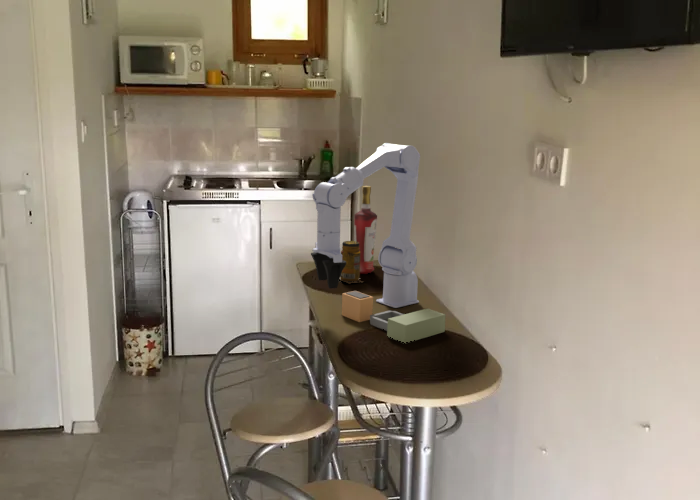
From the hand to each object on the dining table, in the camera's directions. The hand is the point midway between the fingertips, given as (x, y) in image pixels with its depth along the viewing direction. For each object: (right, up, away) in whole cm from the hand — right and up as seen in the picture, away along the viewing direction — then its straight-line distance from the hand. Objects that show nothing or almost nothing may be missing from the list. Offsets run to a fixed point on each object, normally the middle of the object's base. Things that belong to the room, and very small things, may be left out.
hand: (327, 283), depth 179 cm
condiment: (+6, -1, +41) cm, 41 cm away
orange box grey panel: (+7, -9, +6) cm, 13 cm away
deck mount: (+19, -11, -2) cm, 22 cm away
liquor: (+10, +1, +51) cm, 52 cm away
